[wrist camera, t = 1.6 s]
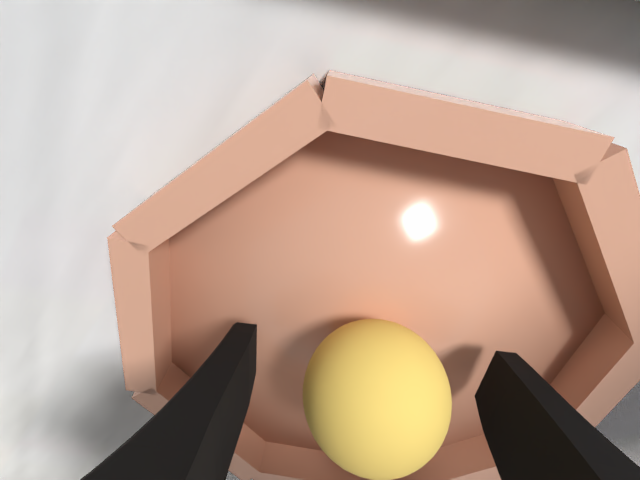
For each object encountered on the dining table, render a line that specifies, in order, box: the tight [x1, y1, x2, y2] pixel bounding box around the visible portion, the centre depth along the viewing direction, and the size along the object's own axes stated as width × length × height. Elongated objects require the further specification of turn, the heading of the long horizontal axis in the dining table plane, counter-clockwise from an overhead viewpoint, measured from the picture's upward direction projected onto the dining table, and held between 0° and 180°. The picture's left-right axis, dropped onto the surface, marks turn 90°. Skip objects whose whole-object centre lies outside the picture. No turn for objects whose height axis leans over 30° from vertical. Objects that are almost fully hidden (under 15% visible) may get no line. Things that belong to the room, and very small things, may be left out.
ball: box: [303, 319, 452, 480], centre depth 10 cm, size 4×4×4 cm
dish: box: [107, 70, 640, 480], centre depth 11 cm, size 15×15×2 cm
